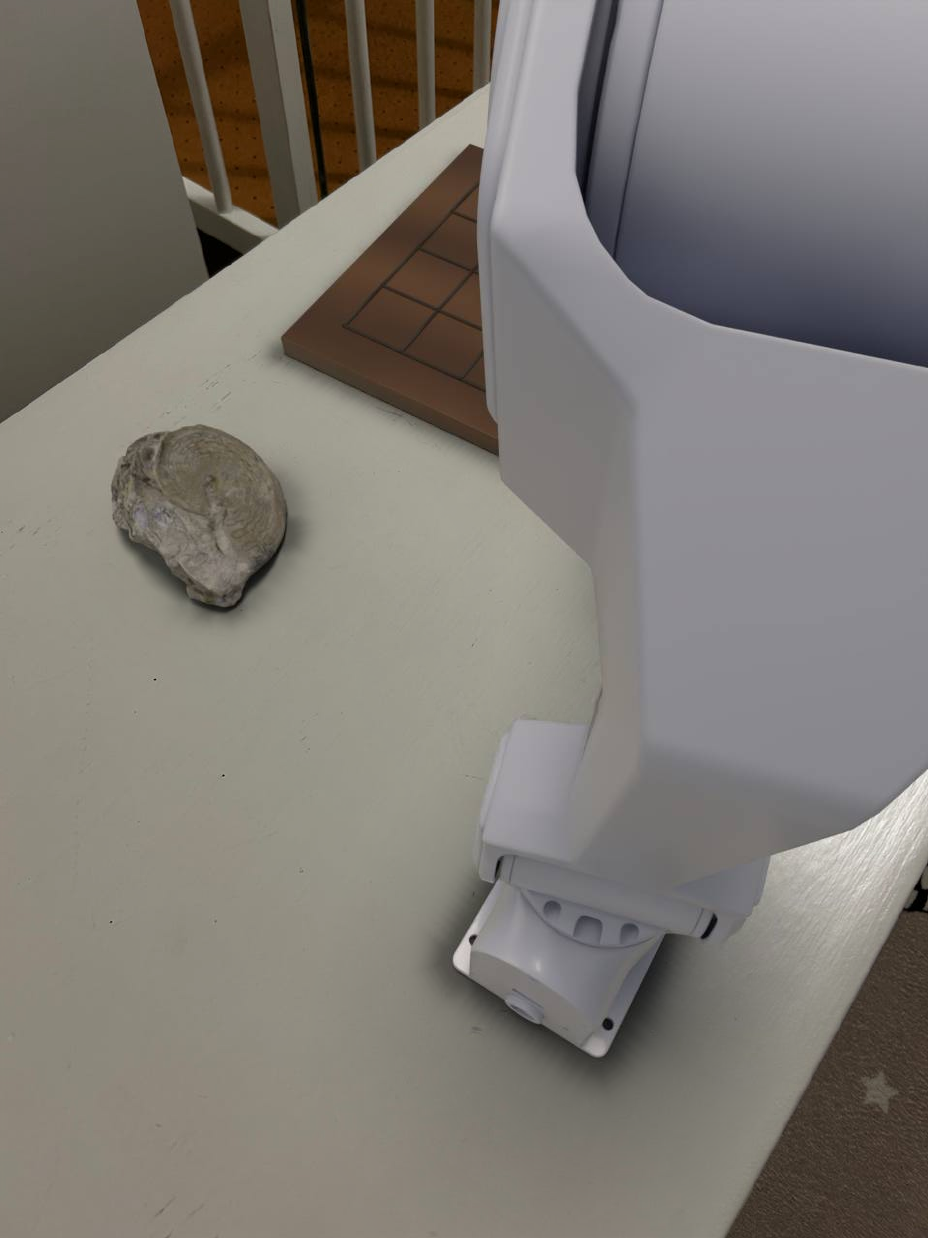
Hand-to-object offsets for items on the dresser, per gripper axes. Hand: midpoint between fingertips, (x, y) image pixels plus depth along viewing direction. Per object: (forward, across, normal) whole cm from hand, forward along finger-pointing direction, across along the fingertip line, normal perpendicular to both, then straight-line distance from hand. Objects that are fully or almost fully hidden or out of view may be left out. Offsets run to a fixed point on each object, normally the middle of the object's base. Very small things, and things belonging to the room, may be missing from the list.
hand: (697, 428), depth 49 cm
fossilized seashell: (+10, -14, +24) cm, 29 cm away
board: (+9, +12, +16) cm, 22 cm away
